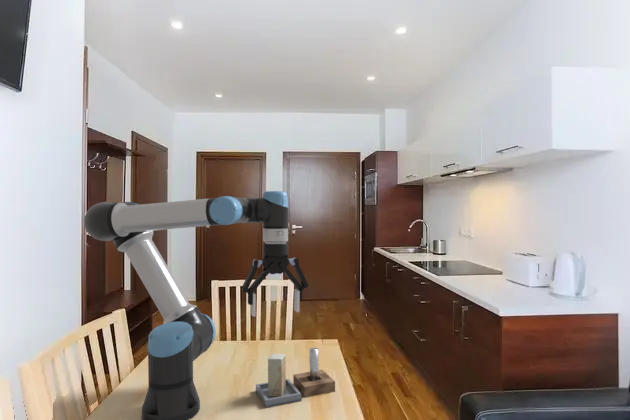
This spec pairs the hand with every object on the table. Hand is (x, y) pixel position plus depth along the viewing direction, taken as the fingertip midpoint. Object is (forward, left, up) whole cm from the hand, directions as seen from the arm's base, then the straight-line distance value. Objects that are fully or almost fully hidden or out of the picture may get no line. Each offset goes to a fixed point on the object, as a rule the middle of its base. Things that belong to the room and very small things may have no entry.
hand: (275, 313), depth 123 cm
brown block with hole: (+12, 0, -25) cm, 27 cm away
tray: (0, -1, -25) cm, 25 cm away
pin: (+12, 0, -25) cm, 27 cm away
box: (0, 0, -24) cm, 24 cm away
